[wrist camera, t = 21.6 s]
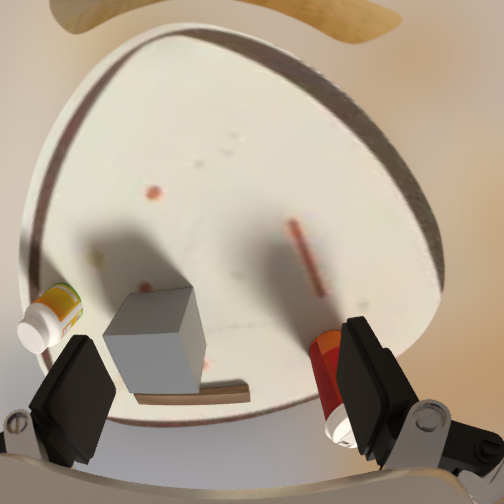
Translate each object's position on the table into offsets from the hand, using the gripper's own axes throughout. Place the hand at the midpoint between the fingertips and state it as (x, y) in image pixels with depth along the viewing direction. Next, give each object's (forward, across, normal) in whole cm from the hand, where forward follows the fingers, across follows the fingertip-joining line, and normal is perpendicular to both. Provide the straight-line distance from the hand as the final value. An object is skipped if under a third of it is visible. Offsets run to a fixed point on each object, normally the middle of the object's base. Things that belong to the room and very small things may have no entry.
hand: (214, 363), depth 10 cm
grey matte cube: (+21, +9, +12) cm, 25 cm away
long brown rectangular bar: (+20, +8, +24) cm, 32 cm away
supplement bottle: (+21, +22, +9) cm, 32 cm away
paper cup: (+20, -10, +18) cm, 29 cm away
